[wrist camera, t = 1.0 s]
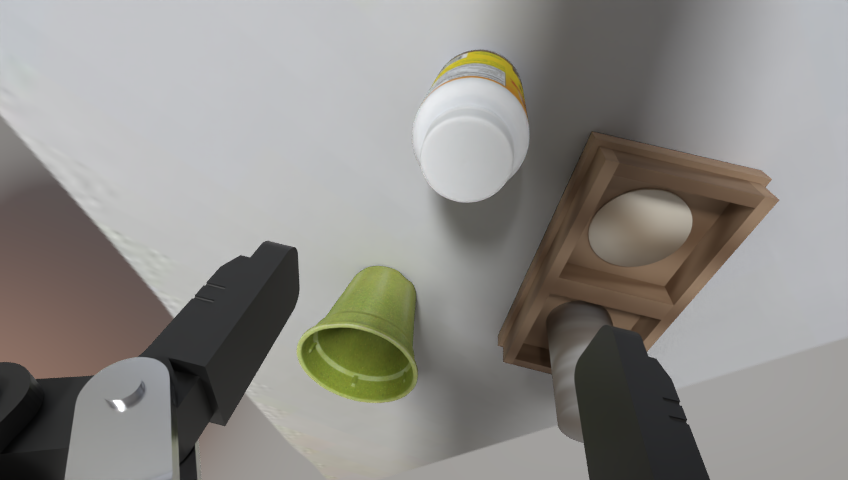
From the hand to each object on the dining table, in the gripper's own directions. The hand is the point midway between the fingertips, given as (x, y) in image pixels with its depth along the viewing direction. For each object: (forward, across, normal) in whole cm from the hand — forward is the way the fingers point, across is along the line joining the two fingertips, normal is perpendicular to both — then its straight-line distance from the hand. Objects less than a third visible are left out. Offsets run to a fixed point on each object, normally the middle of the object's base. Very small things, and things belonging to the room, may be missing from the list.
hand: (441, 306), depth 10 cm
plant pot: (+18, +4, +19) cm, 27 cm away
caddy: (+18, -13, +11) cm, 25 cm away
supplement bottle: (+18, 0, 0) cm, 18 cm away
